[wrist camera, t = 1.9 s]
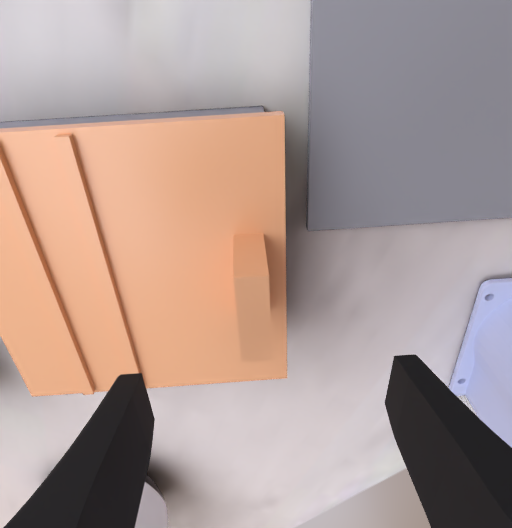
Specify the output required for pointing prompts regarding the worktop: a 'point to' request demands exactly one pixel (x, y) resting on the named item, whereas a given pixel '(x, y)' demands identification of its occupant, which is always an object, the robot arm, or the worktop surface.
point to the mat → (409, 112)
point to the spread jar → (152, 507)
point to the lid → (144, 251)
